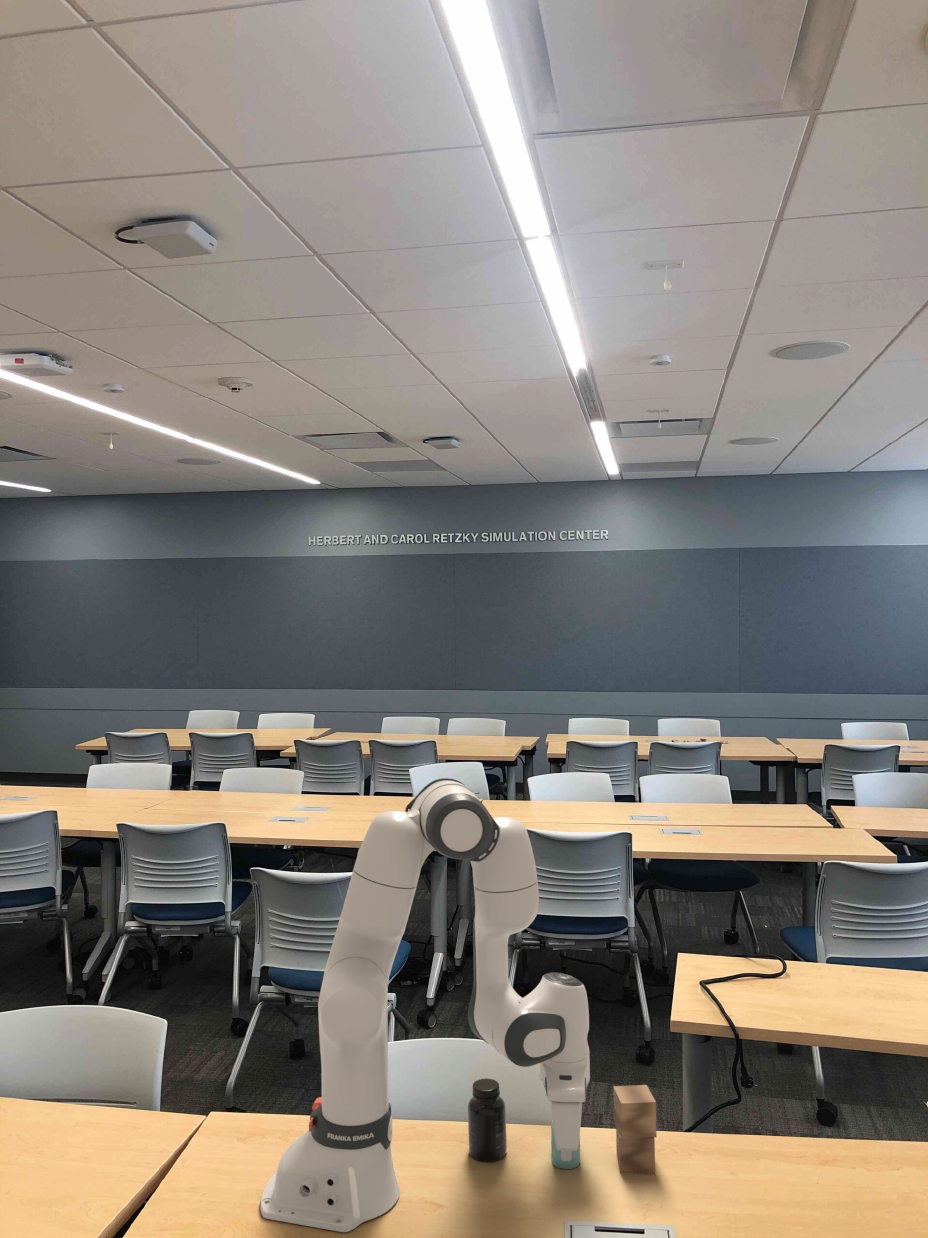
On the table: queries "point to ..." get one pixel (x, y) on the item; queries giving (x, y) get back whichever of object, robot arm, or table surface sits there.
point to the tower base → (635, 1155)
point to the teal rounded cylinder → (557, 1155)
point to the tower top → (634, 1112)
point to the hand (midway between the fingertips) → (565, 1148)
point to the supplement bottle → (487, 1122)
